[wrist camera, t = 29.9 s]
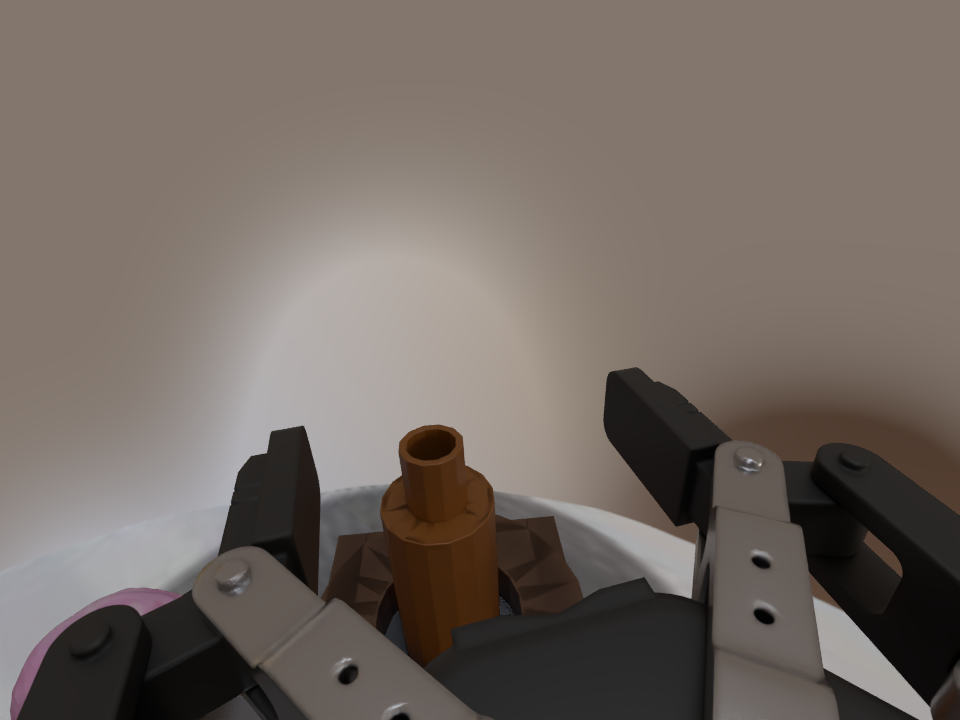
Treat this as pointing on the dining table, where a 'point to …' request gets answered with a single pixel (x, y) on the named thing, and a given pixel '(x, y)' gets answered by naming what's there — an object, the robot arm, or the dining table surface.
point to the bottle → (439, 541)
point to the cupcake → (133, 597)
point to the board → (520, 559)
